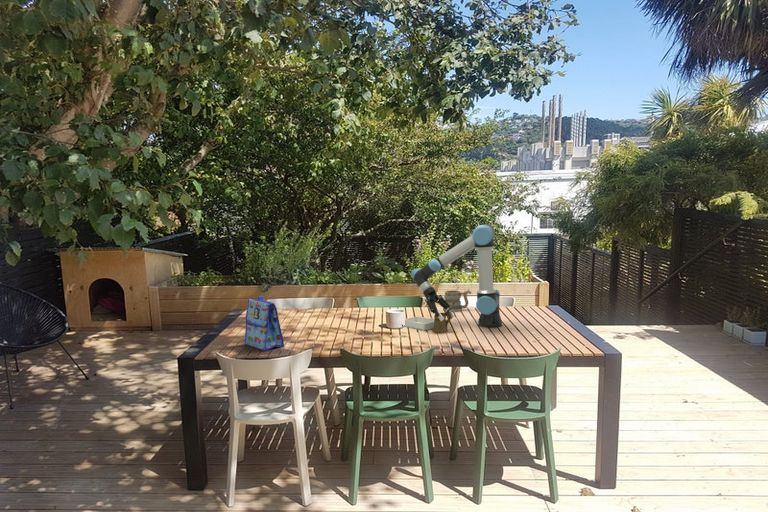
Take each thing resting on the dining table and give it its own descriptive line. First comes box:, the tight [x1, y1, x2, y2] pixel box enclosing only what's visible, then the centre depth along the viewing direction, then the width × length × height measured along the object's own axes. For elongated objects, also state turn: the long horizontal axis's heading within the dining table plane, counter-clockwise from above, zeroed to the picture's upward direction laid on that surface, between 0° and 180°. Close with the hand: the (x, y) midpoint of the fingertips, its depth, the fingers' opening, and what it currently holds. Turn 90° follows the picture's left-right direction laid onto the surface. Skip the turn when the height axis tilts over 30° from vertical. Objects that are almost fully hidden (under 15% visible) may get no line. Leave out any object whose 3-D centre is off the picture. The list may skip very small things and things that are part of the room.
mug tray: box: [403, 315, 435, 332], centre depth 344 cm, size 20×15×4 cm
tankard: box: [443, 289, 472, 313], centre depth 390 cm, size 20×13×15 cm, turn 73°
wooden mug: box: [432, 303, 455, 334], centre depth 329 cm, size 9×14×18 cm, turn 84°
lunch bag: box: [244, 295, 285, 352], centre depth 305 cm, size 22×14×29 cm, turn 45°
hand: (447, 318), depth 327 cm, fingers closed on wooden mug, 9 cm apart
